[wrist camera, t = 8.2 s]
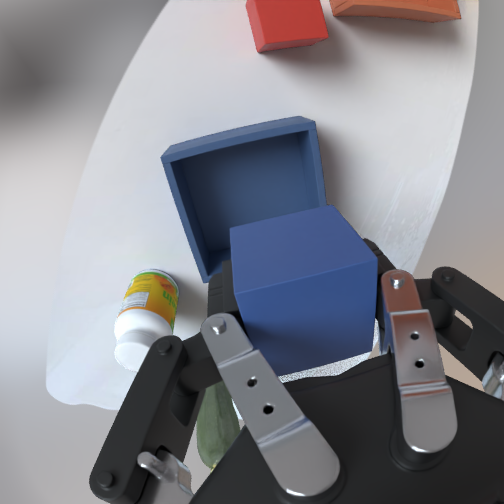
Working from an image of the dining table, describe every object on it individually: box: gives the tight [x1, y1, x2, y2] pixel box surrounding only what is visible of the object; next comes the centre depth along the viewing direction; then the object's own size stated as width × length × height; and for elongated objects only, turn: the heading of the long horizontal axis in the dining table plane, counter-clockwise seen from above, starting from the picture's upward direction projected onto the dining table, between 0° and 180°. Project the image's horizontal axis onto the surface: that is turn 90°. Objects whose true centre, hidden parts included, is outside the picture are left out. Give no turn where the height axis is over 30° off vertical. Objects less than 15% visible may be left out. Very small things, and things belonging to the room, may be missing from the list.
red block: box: [246, 0, 329, 52], centre depth 17 cm, size 5×5×5 cm
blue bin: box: [160, 116, 327, 283], centre depth 25 cm, size 11×11×4 cm
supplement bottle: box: [114, 270, 179, 373], centre depth 27 cm, size 5×5×10 cm
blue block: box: [230, 205, 378, 377], centre depth 12 cm, size 5×5×5 cm
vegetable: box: [197, 381, 241, 473], centre depth 27 cm, size 4×4×20 cm
